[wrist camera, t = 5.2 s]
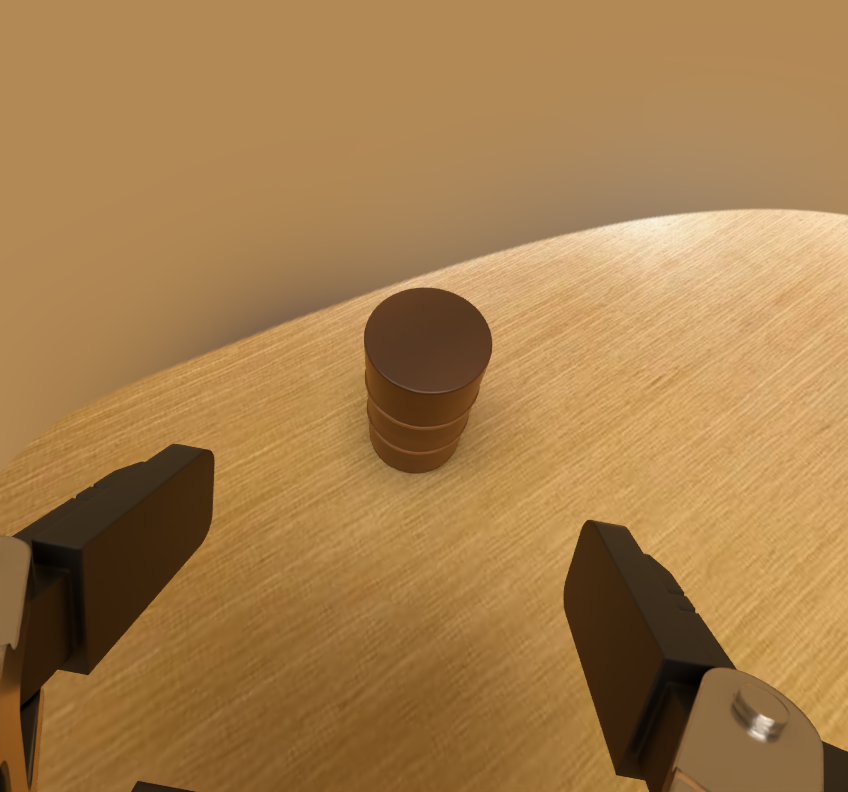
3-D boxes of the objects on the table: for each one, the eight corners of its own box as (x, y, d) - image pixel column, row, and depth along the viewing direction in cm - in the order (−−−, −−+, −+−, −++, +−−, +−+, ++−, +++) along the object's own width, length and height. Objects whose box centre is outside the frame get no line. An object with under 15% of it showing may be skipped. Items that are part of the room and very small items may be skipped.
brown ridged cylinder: (349, 424, 23) (335, 327, 16) (419, 374, 25) (434, 266, 18) (409, 493, 22) (422, 421, 15) (478, 436, 23) (521, 346, 16)
